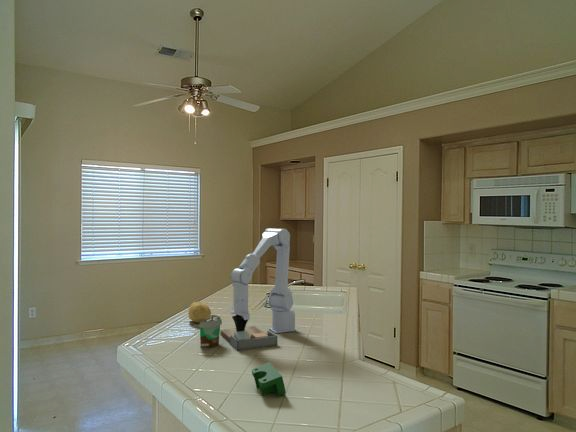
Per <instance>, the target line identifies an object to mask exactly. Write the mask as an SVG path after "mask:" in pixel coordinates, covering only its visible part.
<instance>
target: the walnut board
mask: <svg viewBox="0 0 576 432" xmlns="http://www.w3.org/2000/svg"><path fill="white" fill-rule="evenodd" d="M244 331H247V332H248V334H249V336H250V337H251V334H255V333H265V332H264V331H263V330H261V329H260V328H258V327H256V325H253V326H245V330H244ZM234 332H237V331H236V327H235V328H226V329H225V328H224V329H220V334H219V336H221V337H222V338H223V339H224V340H226V341H227V342H228V343H229V344H230V335H232V336H233V337H234ZM265 334H266V335H267V332H266V333H265Z"/></svg>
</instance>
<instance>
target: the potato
mask: <svg viewBox="0 0 576 432" xmlns="http://www.w3.org/2000/svg"><path fill="white" fill-rule="evenodd" d="M211 315H212V311H211V308H210V307H209V306H208V305H207V304H206V303H204V302H202V301H194V302H192V303H191V304H190V305H189V307H188V319H189V320H191V321H192V322H193V323H198V324H200V322H204V321H205V320H206V319H209V318H211Z"/></svg>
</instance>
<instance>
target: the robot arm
mask: <svg viewBox="0 0 576 432" xmlns="http://www.w3.org/2000/svg"><path fill="white" fill-rule="evenodd" d="M290 241H291V233H290V232H289V230H287V229H286V228H271V227H268V228H266V229H265V230H264V232H263V233H262V238H261V240H260V241H259V243H258V244H257V245H256V247H255V249H254V251H253V252H252V253H249V254H246V256H245V258H244V259H243V260H242V262H241V264H239V266H238V268H237V267H236V268H234V269H233V270H232V272H231V274H230V275H229V278H230V281H231V282H232V283H231V284H232V288H233V291H232V292H233V294H232V295H233V297H232V298H233V301H232V303H233V306H232V307H231V310H229V312H230V314H231V315H232V317H231V318H232V320H233V322H234V325H235V326H234V327H235V328H236V331H237V332H240V331H244V330H245V327H247V324H248V322H249V320H251V319H250V313H249V283H250V282H251V281H252V278H253V274H254V271H255V270H256V269H257V267H258V266H259V265H260V263H261V257H262V256H263V255H264V254H265V253H266V252H267V250H268V249H269V248H270V247H273V248H274V249H275V250H276V264H275V278H274V279H275V280H274V287H273V288H272V289H270V292H269V296H268V306H269V307H270V309H271V311H272V312H271V313H272V314H271V316H272V318H271V327H268V330H269V331H270V332H272V333H274V334H282V333H288V332H296V313H295V311H294V309H293V308H292V307H293V305H294V298H293V292H292V291H291V289H290V288H289V287H288V285H289V284H288V283H289V282H288V281H289V266H290V251H291V249H290V247H291V245H290V243H291V242H290Z"/></svg>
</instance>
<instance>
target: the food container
mask: <svg viewBox="0 0 576 432" xmlns="http://www.w3.org/2000/svg"><path fill="white" fill-rule="evenodd" d="M198 324H199V326H198V328H199V332H200V333H199V338H200V339H199V340H200V341H199V342H200V349H211V348H215V347H218V346H219V344H220V330H221V325H222V324H223V321H222V318H221V316H219V315H217V314H211V318H209V319H206V320H205V321H204V322H200V323H198Z"/></svg>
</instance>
